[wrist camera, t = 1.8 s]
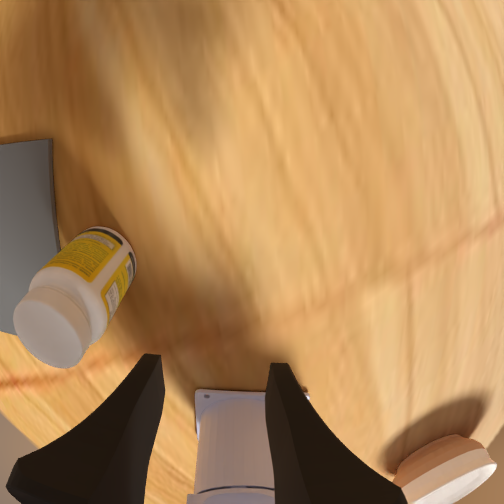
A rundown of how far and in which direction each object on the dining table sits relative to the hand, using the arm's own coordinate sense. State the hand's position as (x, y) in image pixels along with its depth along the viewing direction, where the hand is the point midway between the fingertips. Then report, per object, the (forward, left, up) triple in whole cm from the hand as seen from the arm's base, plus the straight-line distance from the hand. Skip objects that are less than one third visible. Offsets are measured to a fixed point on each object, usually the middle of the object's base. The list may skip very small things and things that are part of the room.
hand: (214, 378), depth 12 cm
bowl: (-30, +29, -10) cm, 43 cm away
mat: (+16, 0, -9) cm, 19 cm away
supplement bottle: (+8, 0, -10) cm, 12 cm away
